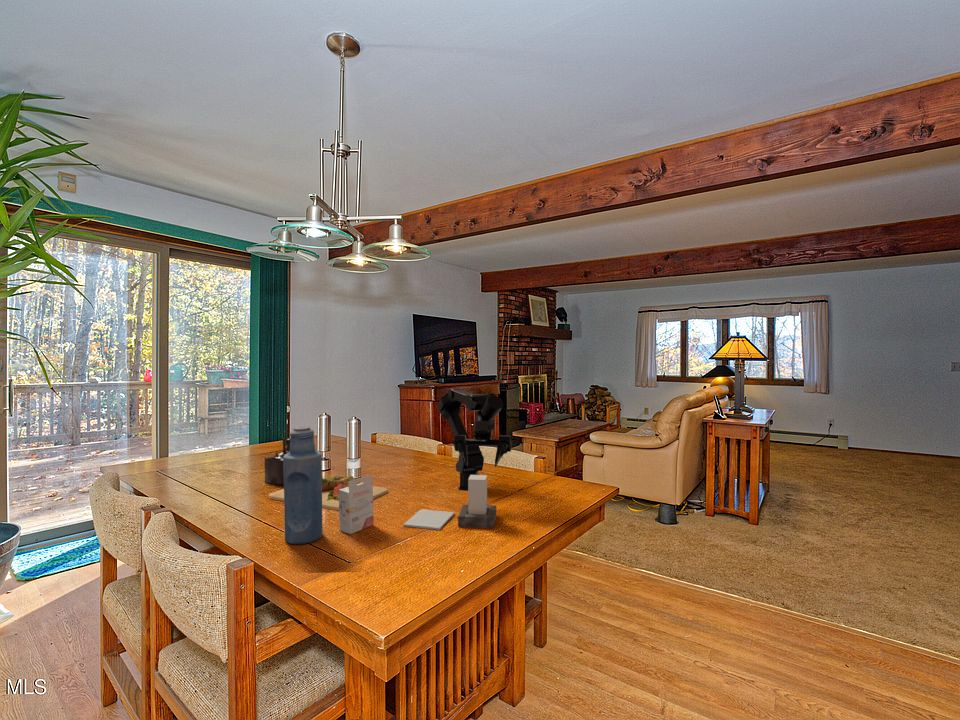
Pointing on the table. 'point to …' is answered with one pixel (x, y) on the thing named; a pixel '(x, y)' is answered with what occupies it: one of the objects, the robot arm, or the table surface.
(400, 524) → the table surface
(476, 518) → the block
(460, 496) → the table surface
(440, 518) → the rubber mat
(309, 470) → the bottle
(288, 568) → the table surface
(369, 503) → the ink cartridge box
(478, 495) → the off-white block
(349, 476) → the cutting board
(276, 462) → the black box
